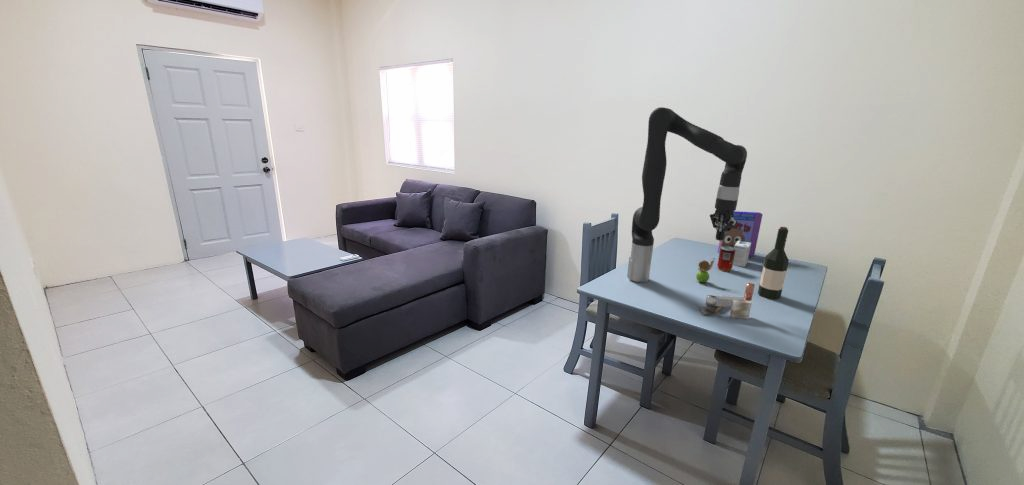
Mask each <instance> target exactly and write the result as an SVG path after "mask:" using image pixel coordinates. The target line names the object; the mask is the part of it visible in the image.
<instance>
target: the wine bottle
mask: <svg viewBox="0 0 1024 485" xmlns="http://www.w3.org/2000/svg"><path fill="white" fill-rule="evenodd" d="M788 234H789V228H788V227H786V226H780V227H779V228H778V230H777V235H776V239H775V243H774V248H773V249H772V250H770V252H768V253H767V254H766V255H765V258H764V261H763V266H762V270H761V271H762V272H761V277H760V281H759V285H758V289H757V290H758V291H757V294H758V295H759V296H760V297H762V298H764V299H768V300H773V301H775V300H779V299H781V297H782V292H783V289H784V284H785V279H786V275H787V270H788V267H789V262H790V260H789V258H788V255H787V254H786V252H785V247H786V242H787V239H788Z"/></svg>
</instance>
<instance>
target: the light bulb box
mask: <svg viewBox="0 0 1024 485" xmlns="http://www.w3.org/2000/svg"><path fill="white" fill-rule="evenodd" d="M750 246H751V243H750V242H743V241H737V243H736V244H735V245H734V249H735V256H734V261H733V266H737V267H742V268H745V267H746V265H747V263H748V260H749V257H750V256H749V251H750Z"/></svg>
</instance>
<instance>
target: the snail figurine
mask: <svg viewBox="0 0 1024 485" xmlns="http://www.w3.org/2000/svg"><path fill="white" fill-rule="evenodd" d="M712 258H713V259H711V260H710V263H709V261H707V260H704V259H703V260H701V261H699V262H698V268H697V269H698V271H697V273H696V275H695V277H696V280H697V282H700V283H707V282H708V281H709V280H710V273H709V272H708V271H710V270H712V268H713V265H714V263H715V257H712Z"/></svg>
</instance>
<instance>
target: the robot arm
mask: <svg viewBox="0 0 1024 485" xmlns="http://www.w3.org/2000/svg"><path fill="white" fill-rule="evenodd" d="M668 133H671V134H675V135H677V136H679V137H681V138H683V139H685V140H686V141H688V142H689V143H691V144H692V145H694V146H695V147H697V148H699V149H700V150H703V151H705V152H707V153H709V154H711V155H713V156H714V157H716V158H718V159H719V160H721V161H722V162H723V163H725V164H724V170H723V171H722V172H721V175H720V179H719V180H720V181H719V184H718V185H719V186H718V188H717V192H716V198H715V203H714V209H715V210H714V213H712V214H711V213H710V214H709V217H710V221H711V224H712V227H713V228H714V229H715V230H716V231H715V232H716V233H715V240H717V241H722V240H723V239H724V234H725V232H726V231H730V230H731V229H732V228H733V227H734V226H735V225H736V224H737V221H735V220H734V218H733V217H734V214H733V212H734V211H736V209H737V207H738V206H737V205H738V200H739V195H740V186H741V183H742V182H741V181H742V174H743V172H744V168H745V165H746V162H747V157H748V151H747V148H746V147H745V146H743V145H739V144H734V143H731V142H730V141H727V140H725V139H724V137H722V136H720V135H718V134H716V133H714V132H712V131H709V130H707V129H705V128H702V127H701V126H698V125H696V124H694V123H692V122H690V121H688V120H686V119H685V118H683V117H682V116H680V115H679V114H677V113H676V112H675V111H674V110H673V109H671V108H668V107H663V106H662V107H657V108H656V107H655V109H654V110H652V112H650V114H649V117H648V126H647V143H646V149H645V156H644V160H643V166H642V174H641V183H642V184H641V186H642V192H643V202H642V207H641V206H640V207H639V208H637V209H636V210H635V211H634V212H633V216H632V224H631V238H632V240H631V248H630V249H631V251H630V256H629V258H628V266H627V275H626V276H627V279H628V280H629V281H630V282H631V281H632V282H636V283H647V282H649V281H650V275H651V268H652V267H651V265H652V259H653V251H654V242H655V241H654V240H655V238H654V236H653V230H655V229H656V228H657V227H658V225H659V223H660V217H661V216H660V215H661V200H662V195H663V188H664V181H665V176H666V172H667V171H666V170H667V152H666V140H667V136H668Z"/></svg>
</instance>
